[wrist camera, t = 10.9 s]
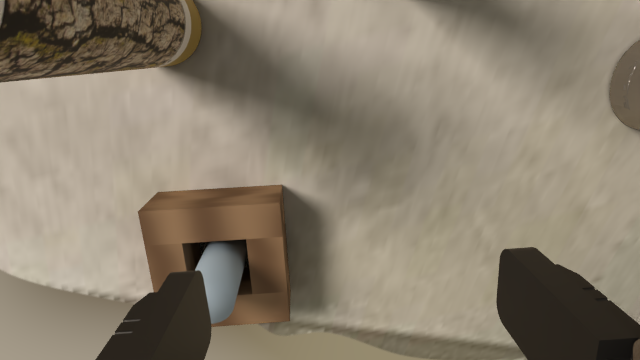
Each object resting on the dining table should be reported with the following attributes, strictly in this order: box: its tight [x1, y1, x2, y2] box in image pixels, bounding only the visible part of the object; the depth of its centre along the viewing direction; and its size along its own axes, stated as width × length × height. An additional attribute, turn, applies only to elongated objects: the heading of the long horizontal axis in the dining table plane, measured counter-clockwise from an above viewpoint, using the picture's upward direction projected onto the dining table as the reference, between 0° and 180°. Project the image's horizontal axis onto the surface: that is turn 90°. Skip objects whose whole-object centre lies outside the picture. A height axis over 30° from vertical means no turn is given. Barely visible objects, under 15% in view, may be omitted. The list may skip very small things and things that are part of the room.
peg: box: [195, 239, 248, 324], centre depth 36 cm, size 4×4×10 cm
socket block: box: [138, 185, 291, 327], centre depth 38 cm, size 12×12×5 cm
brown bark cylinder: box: [0, 0, 201, 82], centre depth 22 cm, size 7×7×25 cm
